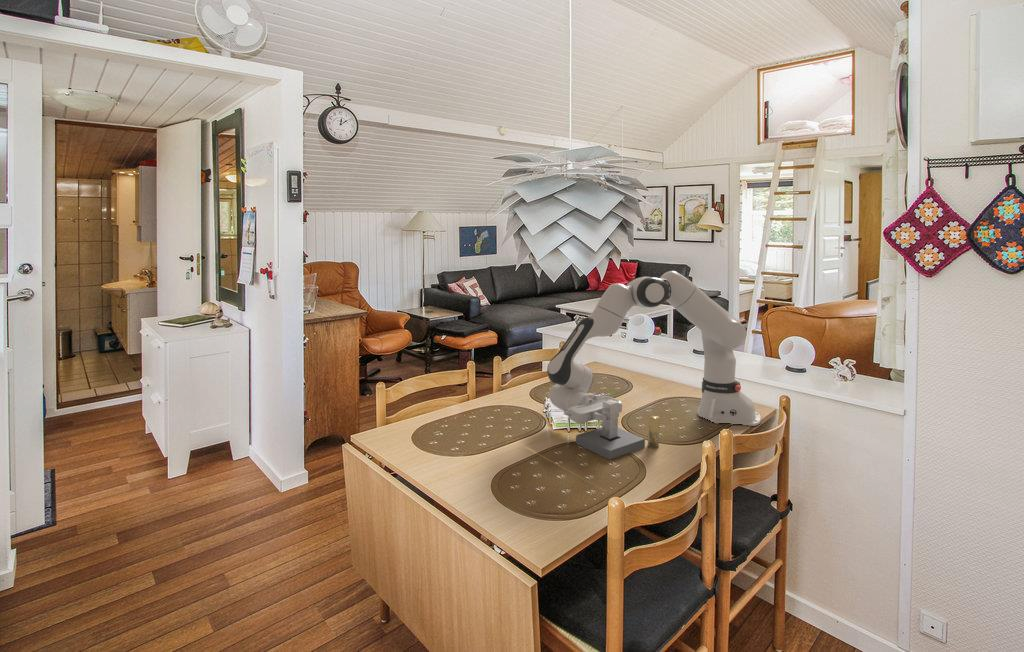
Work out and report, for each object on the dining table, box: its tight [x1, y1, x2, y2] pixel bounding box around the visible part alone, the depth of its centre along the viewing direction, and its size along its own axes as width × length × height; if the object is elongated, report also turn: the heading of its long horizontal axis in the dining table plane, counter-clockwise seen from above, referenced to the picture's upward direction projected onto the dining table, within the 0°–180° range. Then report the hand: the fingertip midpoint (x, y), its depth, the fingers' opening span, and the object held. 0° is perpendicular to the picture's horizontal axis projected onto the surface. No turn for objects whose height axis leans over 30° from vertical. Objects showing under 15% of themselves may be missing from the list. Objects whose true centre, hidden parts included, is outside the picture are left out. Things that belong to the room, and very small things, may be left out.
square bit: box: [601, 399, 619, 439], centre depth 188 cm, size 4×4×12 cm
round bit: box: [647, 415, 661, 449], centre depth 188 cm, size 4×4×10 cm
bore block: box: [575, 426, 646, 460], centre depth 189 cm, size 16×16×3 cm
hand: (612, 417), depth 187 cm, fingers closed on square bit, 4 cm apart
